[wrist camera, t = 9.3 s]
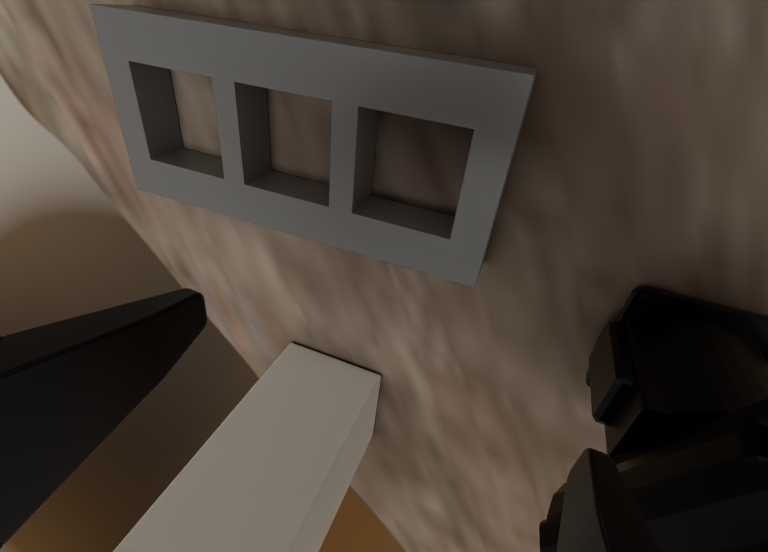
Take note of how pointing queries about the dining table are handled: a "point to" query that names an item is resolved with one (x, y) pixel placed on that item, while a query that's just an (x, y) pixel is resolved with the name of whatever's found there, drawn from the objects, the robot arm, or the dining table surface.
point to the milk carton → (270, 464)
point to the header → (348, 130)
